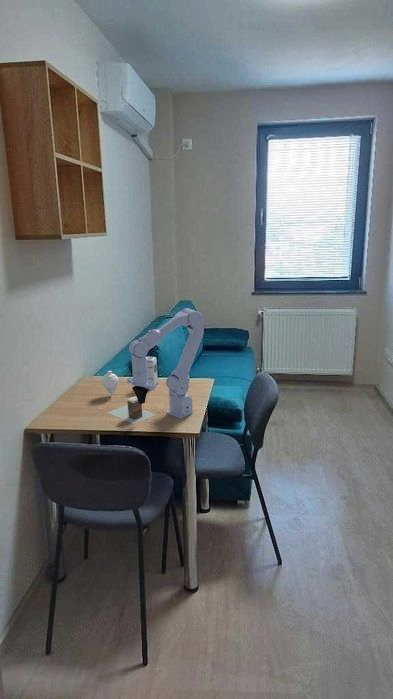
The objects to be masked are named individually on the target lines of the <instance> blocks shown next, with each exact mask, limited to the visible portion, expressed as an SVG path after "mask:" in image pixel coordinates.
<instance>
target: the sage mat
mask: <svg viewBox="0 0 393 699" xmlns="http://www.w3.org/2000/svg"><path fill="white" fill-rule="evenodd" d="M106 413H107V414H110V415H112V416H113V417H116V418H118V419H120V420H123V421H125V422H128V423H129V424H132V425H135V424H137V423H140V422H143V421H144V420H147V419H150V418H152V417H155V416H157V414H156V413H153V412H150V411H148V410H145V409H143V408H142V417H140V418H138V419H135V420H134V419H132V418H130V417H129V415H128V404H127V405H123V406H121V407H120V406H119V407H118V408H115V409H112V410H110V411H107V412H106Z"/></svg>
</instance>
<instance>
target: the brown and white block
mask: <svg viewBox="0 0 393 699" xmlns="http://www.w3.org/2000/svg"><path fill="white" fill-rule="evenodd" d="M127 405H128V415H129V417H130V418H132V419H134V420H135V419H138V418H140V417H142V409H143V406H142V405H143V404H139V402H138V399H137V396H136V395H135V396H133V397H132V396H131V397H130V398H127Z"/></svg>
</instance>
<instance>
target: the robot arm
mask: <svg viewBox="0 0 393 699" xmlns="http://www.w3.org/2000/svg"><path fill="white" fill-rule="evenodd" d="M204 322H205V318H204V315H203V313H202V312H200V311H199V310H198V311H197V310H195V309H191V308H189V307H185V308H183V309H182V310H181V311H178V312H177V313H176V314H175V315H174V316H173V317H172V318H170V320H168V321H167V322H165V323H164V324H163V325H162V326H160V327H159V328H157V329H155V328H153V329H149V330H148V331H147V333H146V334H145V335H143V336H142V337H138V339H136V340H133V341H131V342H130V344H129V347H128V351H129V353H130V354H131V369H132V376H131V377H127V378H126V379H127V380H126V381H127V382H126V383H127V384H130V385H131V386H132V388H131V389H132V391H133V392H134V394H135V396H136V397H137V399H138V402H139V404H142V405H143V404H145V403H146V398H147V394H148V392H149V391H151V392H152V391H154V390H155V389H156V387H154V385H153V384H152V383H150V382H149V381H148V378H147V362H146V357H147V355H148V353H149V351H150V350H151V349H152V348H154V347H155V346H157V345H158V344H159V343H161V342H162V341H163V338H164V336H166V335H168V334H169V333H171V332H172V331H173V330H175V329H177V328H179V327H186V329H187V330H188V333H189V335H188V337H187V340H186V341H185V342H186V343H185V345H184V347H183V350H182V353H181V355H180V358H179V360H178V363H177V365H176V368H175V369H174V370H172V371H171V374H170V375H169V376H168V377H167V379H166V382H165V384H166V387H167V388H168V389H169V390H168V399H169V409H168V410H167V411H165V413H166V414H168V415H171V416H172V417H176V418H179V419H183V418H185V417H188V416H189V415H191V414H194V413H195V412H194V411H193V410H194V409H193V399H192V397H191V396H190V395H189V394H188V391H189V388H190V387H189V386H190V384H189V383H190V379H191V378H190V374H189V373H190V371H191V368H192V365H193V362H194V360H195V357H196V354H197V352H198V350H199V347H200V345H201V342H202V339H203V337H204V335H205V330H204Z"/></svg>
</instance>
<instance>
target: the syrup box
mask: <svg viewBox="0 0 393 699" xmlns="http://www.w3.org/2000/svg"><path fill="white" fill-rule="evenodd" d="M157 361H158V360H157V357H156V356H146V362H147V378H148V381H149V382H150V383H152V384H153V385H154V387H155V388H157V387H158V385H159V380H158V379H159V378H158V365H157V364H158V363H157Z"/></svg>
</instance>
